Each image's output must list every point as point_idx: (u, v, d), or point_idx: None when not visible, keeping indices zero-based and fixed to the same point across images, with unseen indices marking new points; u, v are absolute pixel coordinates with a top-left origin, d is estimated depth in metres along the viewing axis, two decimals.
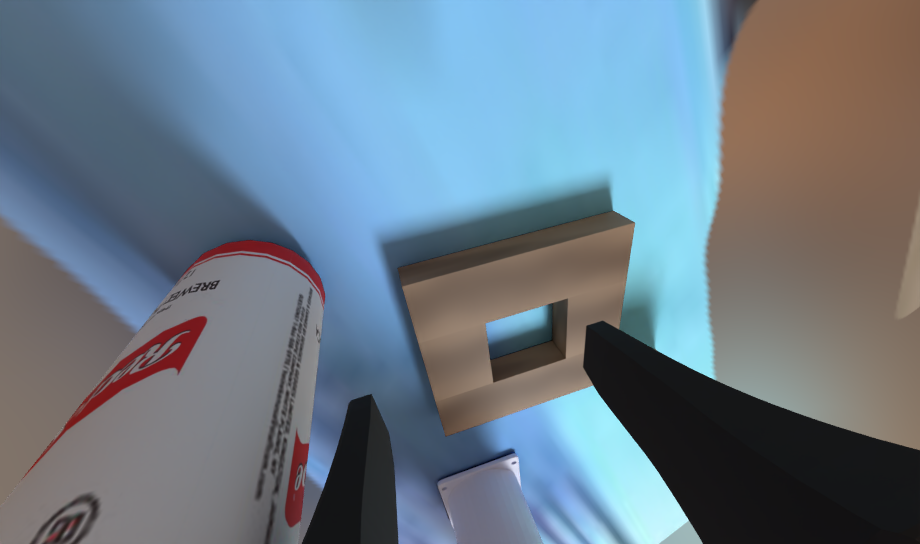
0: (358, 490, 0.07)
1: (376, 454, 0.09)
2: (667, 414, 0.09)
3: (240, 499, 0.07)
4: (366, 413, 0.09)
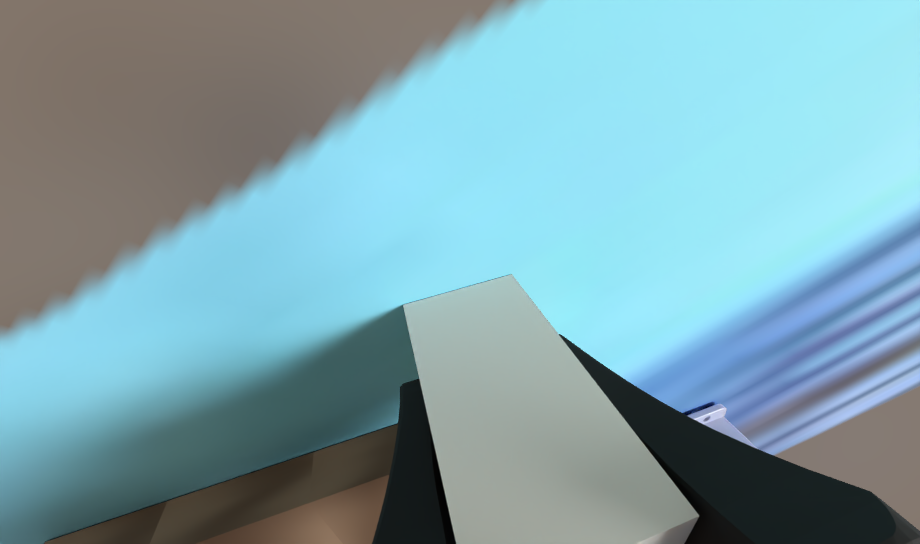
0: (428, 465, 0.07)
1: None
2: None
3: None
4: (421, 395, 0.09)
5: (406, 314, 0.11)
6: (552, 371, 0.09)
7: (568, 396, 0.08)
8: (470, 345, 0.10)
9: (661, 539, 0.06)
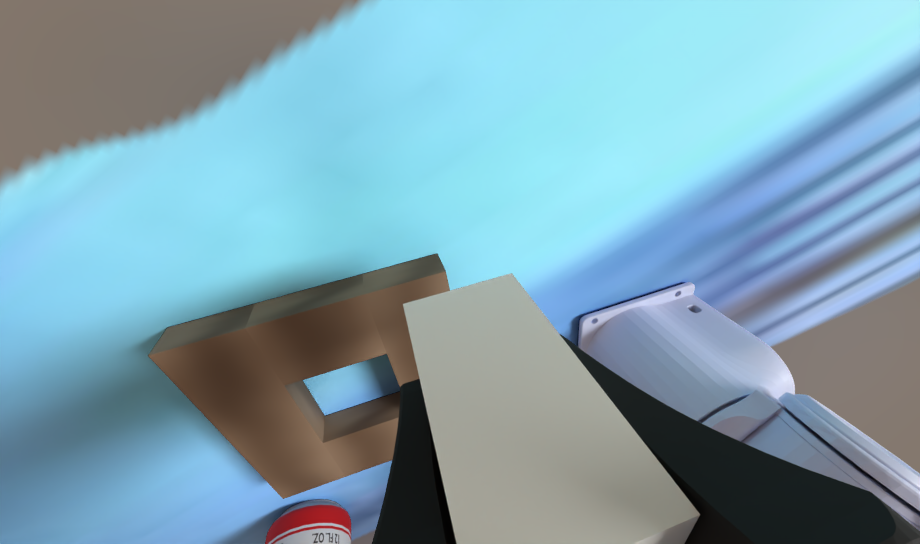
0: (428, 465, 0.07)
1: None
2: None
3: None
4: (421, 395, 0.09)
5: (406, 313, 0.11)
6: (553, 370, 0.09)
7: (568, 395, 0.08)
8: (470, 344, 0.10)
9: (662, 538, 0.06)
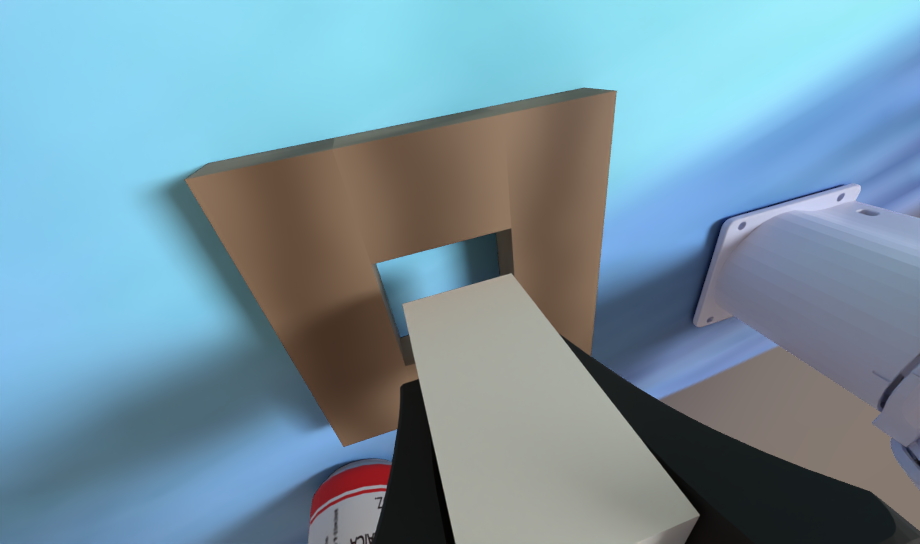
0: (428, 465, 0.07)
1: None
2: None
3: None
4: (421, 395, 0.09)
5: (406, 313, 0.11)
6: (552, 370, 0.09)
7: (568, 395, 0.08)
8: (470, 344, 0.10)
9: (661, 539, 0.06)
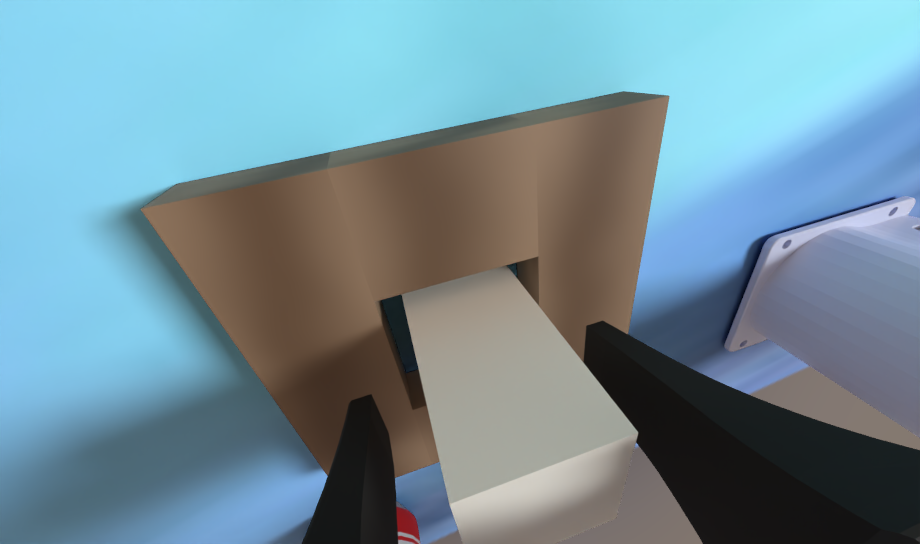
0: (358, 490, 0.07)
1: (376, 454, 0.09)
2: (667, 414, 0.09)
3: None
4: (366, 413, 0.09)
5: None
6: (528, 330, 0.10)
7: (539, 349, 0.09)
8: (457, 311, 0.11)
9: (607, 453, 0.07)
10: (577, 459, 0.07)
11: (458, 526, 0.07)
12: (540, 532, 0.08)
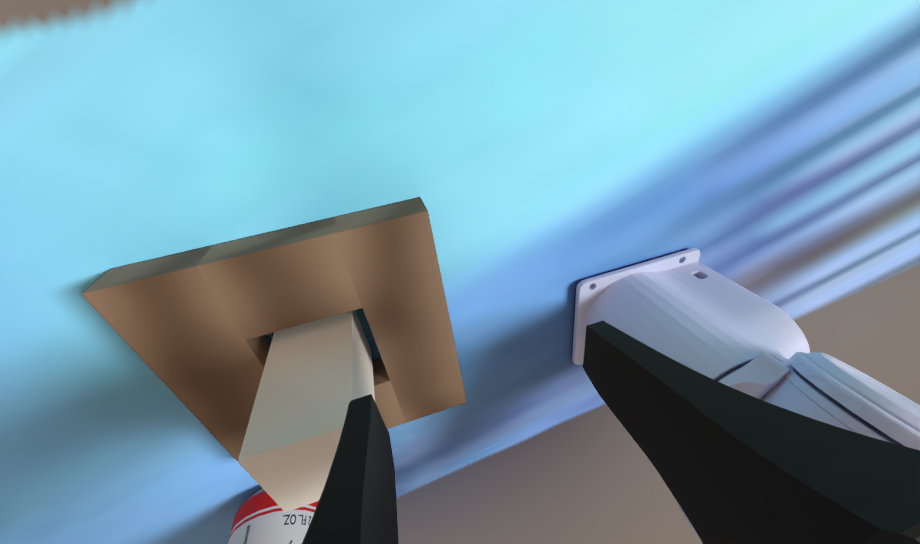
0: (358, 490, 0.07)
1: (376, 454, 0.09)
2: (667, 414, 0.09)
3: None
4: (366, 413, 0.09)
5: None
6: (335, 360, 0.15)
7: (334, 373, 0.15)
8: (301, 346, 0.16)
9: (338, 435, 0.13)
10: (316, 438, 0.12)
11: (252, 475, 0.12)
12: (320, 484, 0.14)
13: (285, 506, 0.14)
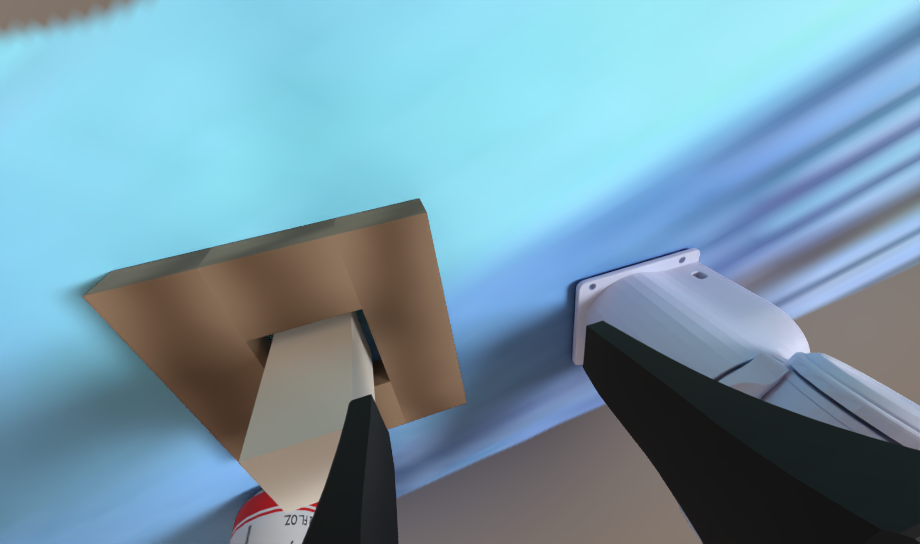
0: (358, 490, 0.07)
1: (376, 454, 0.09)
2: (667, 414, 0.09)
3: None
4: (366, 413, 0.09)
5: None
6: (335, 361, 0.15)
7: (334, 375, 0.15)
8: (301, 347, 0.17)
9: (338, 436, 0.13)
10: (316, 440, 0.12)
11: (252, 477, 0.13)
12: (320, 485, 0.14)
13: (286, 507, 0.14)
